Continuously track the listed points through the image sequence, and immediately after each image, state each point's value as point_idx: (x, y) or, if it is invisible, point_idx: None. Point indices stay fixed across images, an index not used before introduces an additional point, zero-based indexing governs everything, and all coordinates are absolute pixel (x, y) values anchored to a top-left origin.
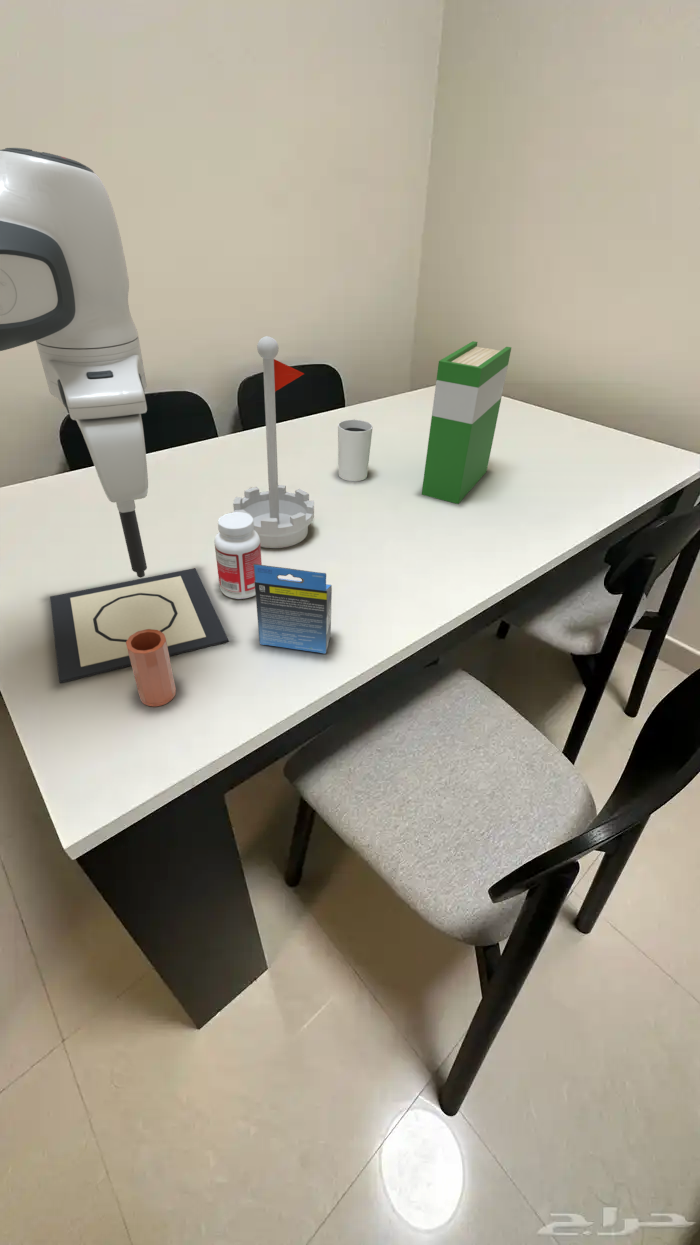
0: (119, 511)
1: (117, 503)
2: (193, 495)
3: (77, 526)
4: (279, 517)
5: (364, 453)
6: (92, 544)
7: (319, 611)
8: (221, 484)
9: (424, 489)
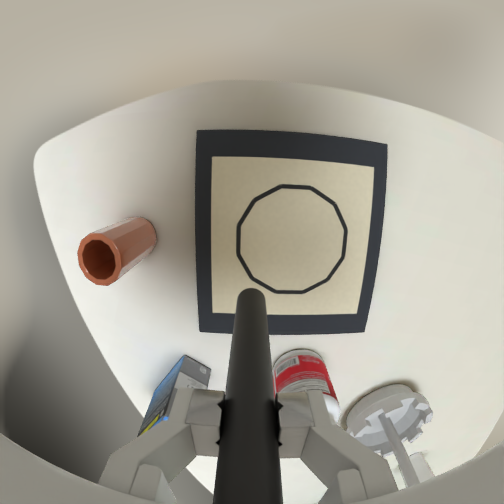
0: (180, 387)
1: (173, 406)
2: (483, 344)
3: (499, 214)
4: (393, 419)
5: (405, 483)
6: (469, 222)
7: (142, 425)
8: (479, 370)
9: None
